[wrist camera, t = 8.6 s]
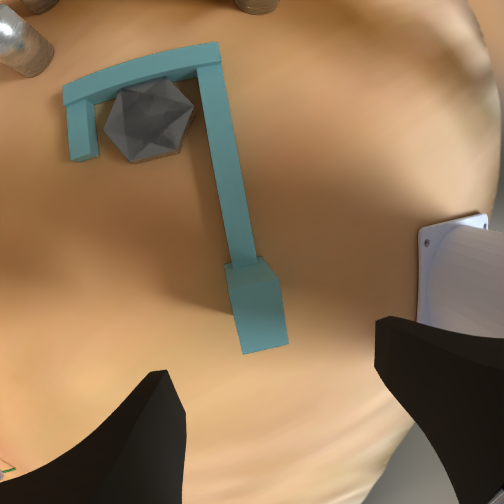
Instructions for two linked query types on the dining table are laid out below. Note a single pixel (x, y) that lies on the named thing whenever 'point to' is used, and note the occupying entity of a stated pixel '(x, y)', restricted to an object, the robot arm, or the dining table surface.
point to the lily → (1, 475)
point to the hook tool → (225, 169)
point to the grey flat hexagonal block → (149, 120)
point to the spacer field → (42, 51)
